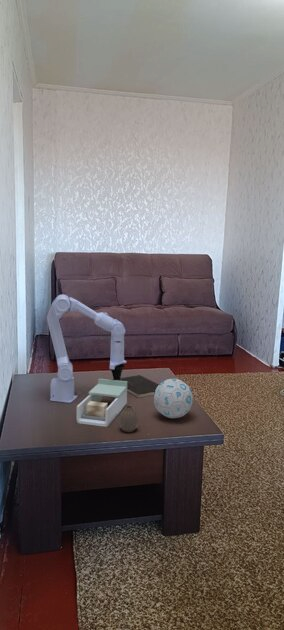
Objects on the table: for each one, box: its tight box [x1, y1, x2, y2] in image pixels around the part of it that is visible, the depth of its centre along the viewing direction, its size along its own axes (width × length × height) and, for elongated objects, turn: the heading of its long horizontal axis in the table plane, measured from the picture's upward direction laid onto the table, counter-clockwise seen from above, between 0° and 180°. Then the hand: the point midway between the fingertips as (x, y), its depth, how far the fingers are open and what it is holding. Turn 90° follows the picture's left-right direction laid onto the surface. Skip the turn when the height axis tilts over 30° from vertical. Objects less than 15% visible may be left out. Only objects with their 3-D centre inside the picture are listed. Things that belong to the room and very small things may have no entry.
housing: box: [76, 389, 128, 428], centre depth 183 cm, size 12×26×6 cm, turn 166°
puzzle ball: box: [153, 378, 194, 419], centre depth 180 cm, size 15×15×15 cm
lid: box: [88, 378, 127, 398], centre depth 188 cm, size 12×12×3 cm
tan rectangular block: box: [86, 401, 109, 418], centre depth 177 cm, size 7×4×5 cm, turn 76°
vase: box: [118, 405, 139, 433], centre depth 167 cm, size 7×7×9 cm
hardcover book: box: [111, 374, 160, 398], centre depth 215 cm, size 16×23×2 cm
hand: (116, 381), depth 199 cm, fingers closed
